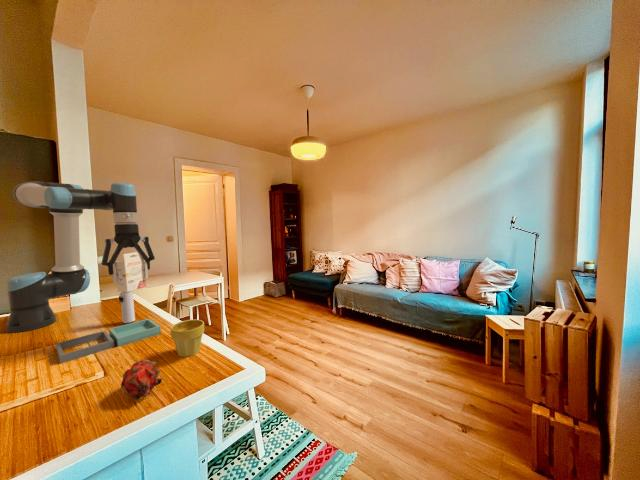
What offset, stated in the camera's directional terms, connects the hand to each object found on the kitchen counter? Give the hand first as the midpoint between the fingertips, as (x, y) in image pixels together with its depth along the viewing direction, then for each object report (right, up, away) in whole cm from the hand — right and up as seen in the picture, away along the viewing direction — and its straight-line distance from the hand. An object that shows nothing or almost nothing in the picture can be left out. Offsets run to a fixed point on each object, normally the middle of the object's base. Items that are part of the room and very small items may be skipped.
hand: (131, 280), depth 103 cm
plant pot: (+30, -23, -13) cm, 40 cm away
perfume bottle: (-12, -22, +15) cm, 29 cm away
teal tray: (0, -22, +2) cm, 23 cm away
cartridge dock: (-10, -24, -9) cm, 27 cm away
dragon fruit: (+28, -25, -34) cm, 50 cm away
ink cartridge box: (0, -4, 0) cm, 4 cm away
